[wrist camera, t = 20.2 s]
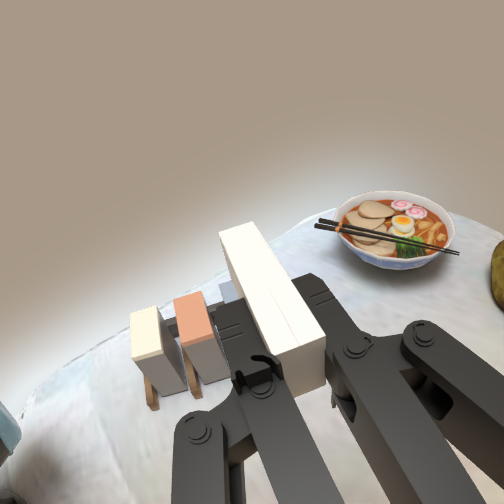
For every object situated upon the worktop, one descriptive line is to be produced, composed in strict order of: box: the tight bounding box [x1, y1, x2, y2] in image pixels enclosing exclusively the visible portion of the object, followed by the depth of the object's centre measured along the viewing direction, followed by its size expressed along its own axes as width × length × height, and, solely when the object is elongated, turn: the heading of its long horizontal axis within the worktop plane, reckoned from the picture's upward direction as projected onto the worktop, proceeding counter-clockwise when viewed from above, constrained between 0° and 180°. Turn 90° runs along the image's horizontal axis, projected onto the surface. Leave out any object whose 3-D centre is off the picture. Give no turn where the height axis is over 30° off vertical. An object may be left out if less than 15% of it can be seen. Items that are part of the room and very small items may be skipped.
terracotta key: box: [173, 291, 231, 385], centre depth 42 cm, size 8×4×10 cm, turn 17°
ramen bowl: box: [314, 190, 460, 270], centre depth 55 cm, size 25×23×8 cm
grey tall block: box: [130, 305, 188, 397], centre depth 42 cm, size 8×4×10 cm, turn 17°
